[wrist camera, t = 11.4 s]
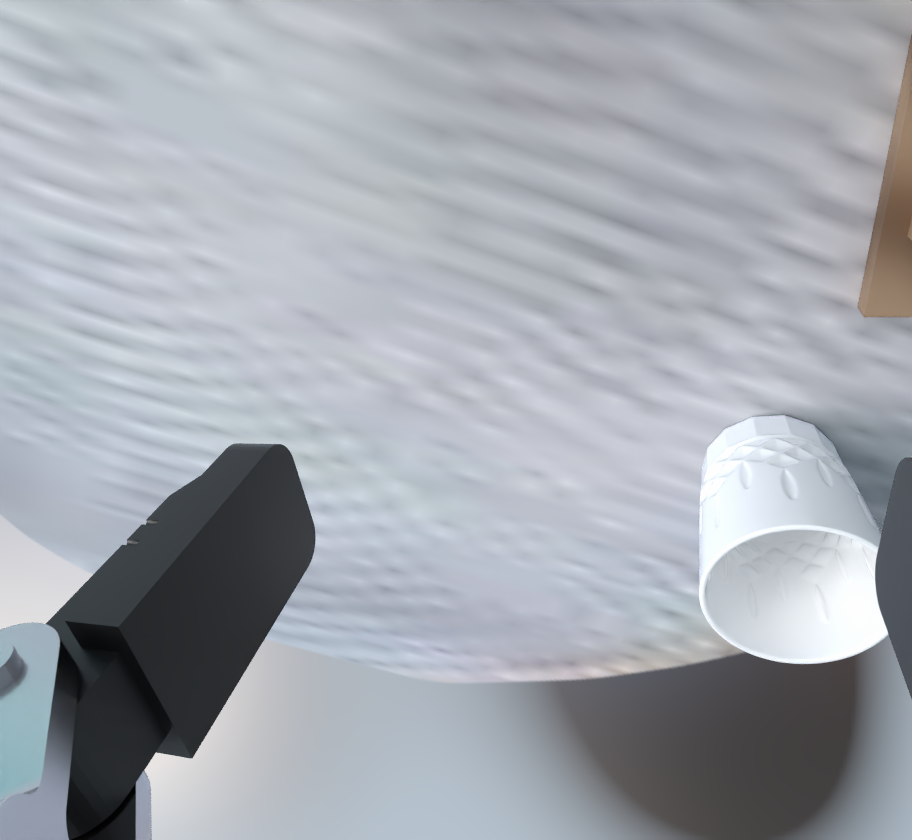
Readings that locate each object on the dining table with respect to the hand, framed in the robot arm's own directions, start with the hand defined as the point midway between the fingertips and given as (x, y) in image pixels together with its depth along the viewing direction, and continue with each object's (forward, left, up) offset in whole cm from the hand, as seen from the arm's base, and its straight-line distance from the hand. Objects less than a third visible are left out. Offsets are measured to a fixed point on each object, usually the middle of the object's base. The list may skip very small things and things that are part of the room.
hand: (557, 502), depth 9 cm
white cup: (+16, +8, -26) cm, 32 cm away
